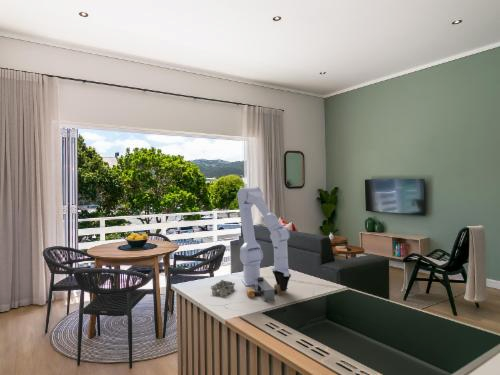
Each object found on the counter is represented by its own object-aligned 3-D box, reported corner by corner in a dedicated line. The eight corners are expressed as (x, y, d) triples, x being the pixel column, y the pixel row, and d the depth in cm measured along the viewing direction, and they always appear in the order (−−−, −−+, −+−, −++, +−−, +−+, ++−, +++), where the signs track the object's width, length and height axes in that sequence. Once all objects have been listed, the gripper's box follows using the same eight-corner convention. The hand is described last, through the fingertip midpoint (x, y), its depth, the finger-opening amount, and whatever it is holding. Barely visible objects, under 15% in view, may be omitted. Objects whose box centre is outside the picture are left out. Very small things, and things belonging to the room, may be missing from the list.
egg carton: (224, 297, 142) (223, 287, 142) (209, 295, 145) (208, 285, 145) (236, 289, 151) (236, 279, 151) (222, 287, 155) (221, 278, 155)
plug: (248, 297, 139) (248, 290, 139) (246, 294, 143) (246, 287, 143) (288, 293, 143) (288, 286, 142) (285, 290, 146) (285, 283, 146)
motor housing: (255, 289, 150) (254, 276, 150) (263, 288, 151) (263, 275, 150) (264, 301, 134) (264, 287, 134) (274, 300, 135) (274, 286, 135)
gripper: (266, 253, 150) (268, 284, 150) (276, 261, 136) (278, 295, 136) (282, 252, 151) (283, 283, 152) (293, 259, 137) (294, 293, 138)
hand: (281, 289), depth 144 cm, fingers closed on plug, 4 cm apart
